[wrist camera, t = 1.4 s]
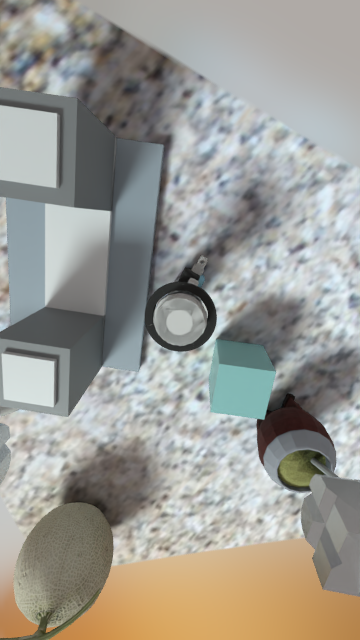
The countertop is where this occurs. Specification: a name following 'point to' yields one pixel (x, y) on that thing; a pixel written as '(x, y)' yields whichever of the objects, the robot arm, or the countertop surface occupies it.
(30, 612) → the fruit
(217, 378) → the block
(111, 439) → the countertop surface
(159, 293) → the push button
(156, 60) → the countertop surface
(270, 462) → the mate gourd
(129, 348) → the gray block stand
